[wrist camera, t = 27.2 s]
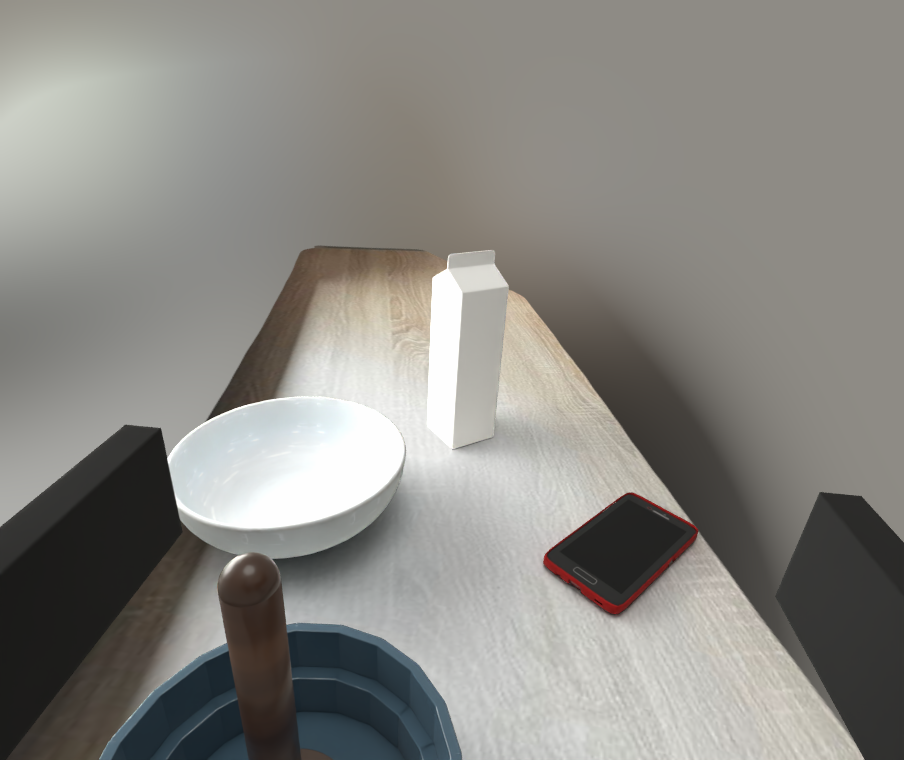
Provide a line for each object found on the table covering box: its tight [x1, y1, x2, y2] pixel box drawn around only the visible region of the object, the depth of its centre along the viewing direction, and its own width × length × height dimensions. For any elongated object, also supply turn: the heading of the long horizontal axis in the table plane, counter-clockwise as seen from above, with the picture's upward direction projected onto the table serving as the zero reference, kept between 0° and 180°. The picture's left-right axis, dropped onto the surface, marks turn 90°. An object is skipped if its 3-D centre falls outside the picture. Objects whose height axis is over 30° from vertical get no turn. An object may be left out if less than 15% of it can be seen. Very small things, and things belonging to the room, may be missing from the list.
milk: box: [427, 250, 509, 449], centre depth 63 cm, size 6×6×22 cm
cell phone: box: [543, 493, 698, 614], centre depth 50 cm, size 8×15×1 cm, turn 133°
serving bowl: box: [167, 396, 406, 559], centre depth 52 cm, size 21×21×7 cm
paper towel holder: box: [218, 552, 333, 760], centre depth 24 cm, size 7×7×20 cm
